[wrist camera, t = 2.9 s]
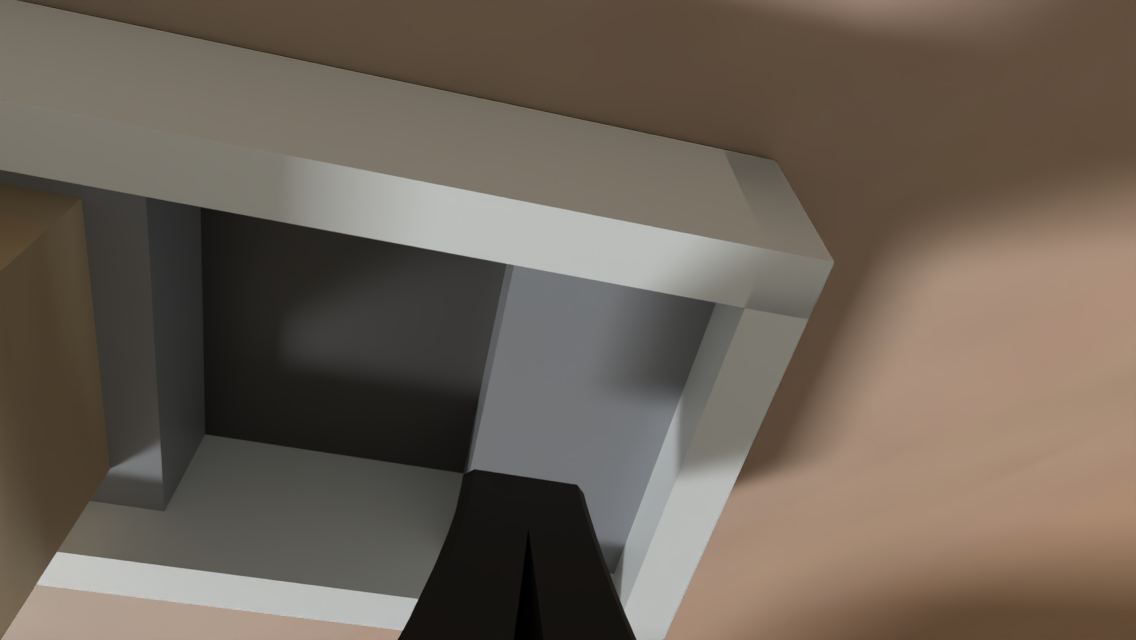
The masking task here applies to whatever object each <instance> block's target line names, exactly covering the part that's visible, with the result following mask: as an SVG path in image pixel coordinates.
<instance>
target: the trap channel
mask: <svg viewBox="0 0 1136 640" xmlns="http://www.w3.org/2000/svg"><path fill="white" fill-rule="evenodd" d="M0 184H5V185H11V186H16V187H21V188H27V189H32V190H38V191H43V192H49V193H54V194H59V195H65V196H70V197H76V198H81V199H82V207H83V216H84V226H85V235H86V245H87V254H88V264H89V273H90V283H91V292H92V302H93V311H94V321H95V330H96V340H97V349H98V359H99V368H100V378H101V388H102V397H103V407H104V416H105V426H106V435H107V445H108V454H109V464H110V470H109V471H108V473H107V475H106V476H105V478H104V479H103V481H102V482H101V484H100V486H99V487H98V489H97V490H96V492H95V493H94V495H93V496H92V498H91V500H90V501H89V503H88V504H87V506H86V507H85V509H84V510H83V512H82V514H81V515H80V517H79V518H78V520H77V521H76V523H75V525H74V526H73V528H72V529H71V531H70V532H69V534H68V535H67V537H66V539H65V540H64V542H63V543H62V545H61V546H60V548H59V549H58V551H57V553H56V554H55V556H54V557H53V559H52V560H51V562H50V564H49V565H48V567H47V568H46V570H45V571H44V573H43V574H42V576H41V578H40V579H39V581H38V582H37V584H36V585H43V586H51V587H59V588H67V589H75V590H83V591H91V592H99V593H107V594H115V595H123V596H131V597H139V598H147V599H155V600H163V601H171V602H179V603H187V604H195V605H203V606H211V607H219V608H227V609H235V610H243V611H251V612H259V613H267V614H275V615H283V616H291V617H298V618H306V619H314V620H322V621H330V622H338V623H346V624H354V625H362V626H370V627H378V628H386V629H394V630H402V631H403V629H404V627H405V625H406V623H407V622H408V620H409V618H410V616H411V614H412V611H413V609H414V607H415V605H416V603H417V601H418V599H419V597H420V595H421V593H422V591H423V588H424V586H425V584H426V582H427V580H428V578H429V576H430V574H431V572H432V570H433V568H434V565H435V563H436V561H437V558H438V556H439V553H440V551H441V549H442V546H443V544H444V541H445V539H446V536H447V534H448V531H449V528H450V525H451V523H452V520H453V517H454V514H455V510H456V507H457V502H458V497H459V492H460V488H461V483H462V478H463V475H464V474H466V473H468V472H470V471H472V470H474V469H477V470H484V471H490V472H497V473H504V474H510V475H517V476H523V477H530V478H537V479H543V480H550V481H556V482H563V483H570V484H576V485H578V486H579V488H580V489H581V490H582V492H583V493H584V496H585V500H586V503H587V507H588V510H589V514H590V517H591V520H592V523H593V527H594V530H595V533H596V536H597V539H598V542H599V545H600V548H601V551H602V553H603V556H604V559H605V562H606V565H607V567H608V570H609V573H610V575H611V578H612V581H613V583H614V586H615V589H616V591H617V594H618V596H619V599H620V601H621V604H622V606H623V609H624V611H625V614H626V616H627V619H628V621H629V623H630V626H631V628H632V630H633V633H634V635H635V637H636V640H664V638H665V635H666V633H667V631H668V629H669V627H670V624H671V622H672V620H673V618H674V615H675V613H676V611H677V609H678V607H679V604H680V602H681V600H682V598H683V596H684V593H685V591H686V589H687V587H688V585H689V582H690V580H691V578H692V576H693V574H694V571H695V569H696V567H697V565H698V563H699V560H700V558H701V556H702V554H703V552H704V549H705V547H706V545H707V543H708V541H709V538H710V536H711V534H712V532H713V529H714V527H715V525H716V523H717V521H718V518H719V516H720V514H721V512H722V510H723V507H724V505H725V503H726V501H727V499H728V496H729V494H730V492H731V490H732V488H733V485H734V483H735V481H736V479H737V477H738V474H739V472H740V470H741V468H742V466H743V463H744V461H745V459H746V457H747V455H748V452H749V450H750V448H751V446H752V443H753V441H754V439H755V437H756V435H757V432H758V430H759V428H760V426H761V424H762V421H763V419H764V417H765V415H766V413H767V410H768V408H769V406H770V404H771V402H772V399H773V397H774V395H775V393H776V391H777V388H778V386H779V384H780V382H781V380H782V377H783V375H784V373H785V371H786V369H787V366H788V364H789V362H790V360H791V357H792V355H793V353H794V351H795V349H796V346H797V344H798V342H799V340H800V338H801V335H802V333H803V331H804V329H805V327H806V324H807V322H808V320H809V318H810V316H811V313H812V311H813V309H814V307H815V305H816V302H817V300H818V298H819V296H820V294H821V291H822V289H823V287H824V285H825V283H826V280H827V278H828V276H829V274H830V271H831V269H832V267H833V265H834V263H835V262H834V260H833V259H832V257H831V255H830V254H829V252H828V250H827V248H826V247H825V245H824V243H823V241H822V240H821V238H820V236H819V234H818V233H817V231H816V229H815V228H814V226H813V224H812V222H811V221H810V219H809V217H808V215H807V214H806V212H805V210H804V208H803V207H802V205H801V203H800V202H799V200H798V198H797V196H796V195H795V193H794V191H793V189H792V188H791V186H790V184H789V182H788V181H787V179H786V177H785V176H784V174H783V172H782V170H781V169H780V167H779V165H778V163H777V162H776V161H775V160H771V159H766V158H761V157H757V156H752V155H747V154H742V153H738V152H733V151H728V150H723V149H719V148H714V147H709V146H704V145H700V144H695V143H690V142H686V141H681V140H676V139H671V138H667V137H662V136H657V135H652V134H648V133H643V132H638V131H633V130H629V129H624V128H619V127H614V126H610V125H605V124H600V123H596V122H591V121H586V120H581V119H577V118H572V117H567V116H562V115H558V114H553V113H548V112H543V111H539V110H534V109H529V108H525V107H520V106H515V105H510V104H506V103H501V102H496V101H491V100H487V99H482V98H477V97H472V96H468V95H463V94H458V93H454V92H449V91H444V90H439V89H435V88H430V87H425V86H420V85H416V84H411V83H406V82H401V81H397V80H392V79H387V78H383V77H378V76H373V75H368V74H364V73H359V72H354V71H349V70H345V69H340V68H335V67H330V66H326V65H321V64H316V63H312V62H307V61H302V60H297V59H293V58H288V57H283V56H278V55H274V54H269V53H264V52H259V51H255V50H250V49H245V48H241V47H236V46H231V45H226V44H222V43H217V42H212V41H207V40H203V39H198V38H193V37H188V36H184V35H179V34H174V33H170V32H165V31H160V30H155V29H151V28H146V27H141V26H136V25H132V24H127V23H122V22H117V21H113V20H108V19H103V18H99V17H94V16H89V15H84V14H80V13H75V12H70V11H65V10H61V9H56V8H51V7H46V6H42V5H37V4H32V3H28V2H23V1H18V0H0Z"/></svg>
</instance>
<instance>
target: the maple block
mask: <svg viewBox="0 0 1136 640" xmlns="http://www.w3.org/2000/svg"><path fill="white" fill-rule="evenodd" d="M109 470H110V464H109V454H108V445H107V435H106V426H105V416H104V407H103V397H102V388H101V378H100V368H99V359H98V349H97V340H96V330H95V321H94V311H93V302H92V292H91V283H90V273H89V264H88V254H87V245H86V235H85V226H84V216H83V207H82V199H81V198H76V197H70V196H65V195H59V194H54V193H49V192H43V191H38V190H32V189H27V188H21V187H16V186H11V185H5V184H0V640H1V638H2V637H3V635H4V634H5V632H6V631H7V629H8V628H9V626H10V624H11V623H12V621H13V620H14V618H15V617H16V615H17V613H18V612H19V610H20V609H21V607H22V606H23V604H24V603H25V601H26V599H27V598H28V596H29V595H30V593H31V592H32V590H33V589H34V587H35V585H36V584H37V582H38V581H39V579H40V578H41V576H42V574H43V573H44V571H45V570H46V568H47V567H48V565H49V564H50V562H51V560H52V559H53V557H54V556H55V554H56V553H57V551H58V549H59V548H60V546H61V545H62V543H63V542H64V540H65V539H66V537H67V535H68V534H69V532H70V531H71V529H72V528H73V526H74V525H75V523H76V521H77V520H78V518H79V517H80V515H81V514H82V512H83V510H84V509H85V507H86V506H87V504H88V503H89V501H90V500H91V498H92V496H93V495H94V493H95V492H96V490H97V489H98V487H99V486H100V484H101V482H102V481H103V479H104V478H105V476H106V475H107V473H108V471H109Z"/></svg>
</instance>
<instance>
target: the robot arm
mask: <svg viewBox="0 0 1136 640" xmlns="http://www.w3.org/2000/svg"><path fill="white" fill-rule="evenodd" d="M398 640H636V637H635V635H634V633H633V630H632V628H631V626H630V623H629V621H628V619H627V616H626V614H625V611H624V609H623V606H622V604H621V601H620V599H619V596H618V594H617V591H616V589H615V586H614V583H613V581H612V578H611V575H610V573H609V570H608V567H607V565H606V562H605V559H604V556H603V553H602V551H601V548H600V545H599V542H598V539H597V536H596V533H595V530H594V527H593V523H592V520H591V517H590V514H589V510H588V507H587V503H586V500H585V496H584V493H583V492H582V490H581V489H580V488H579V486H578V485H576V484H570V483H563V482H556V481H550V480H543V479H537V478H530V477H523V476H517V475H510V474H504V473H497V472H490V471H484V470H477V469H474V470H472V471H470V472H468V473H466V474H464V475H463V478H462V483H461V488H460V492H459V497H458V502H457V507H456V510H455V514H454V517H453V520H452V523H451V525H450V528H449V531H448V534H447V536H446V539H445V541H444V544H443V546H442V549H441V551H440V553H439V556H438V558H437V561H436V563H435V565H434V568H433V570H432V572H431V574H430V576H429V578H428V580H427V582H426V584H425V586H424V588H423V591H422V593H421V595H420V597H419V599H418V601H417V603H416V605H415V607H414V609H413V611H412V614H411V616H410V618H409V620H408V622H407V623H406V625H405V627H404V629H403V631H402V633H401V635H400V637H399V638H398Z"/></svg>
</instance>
